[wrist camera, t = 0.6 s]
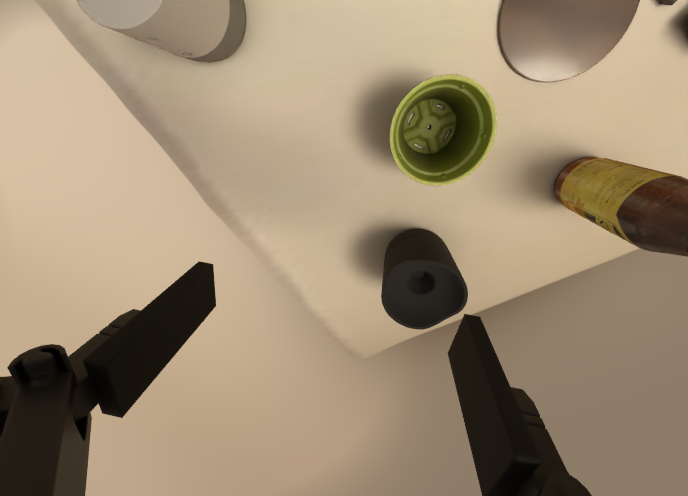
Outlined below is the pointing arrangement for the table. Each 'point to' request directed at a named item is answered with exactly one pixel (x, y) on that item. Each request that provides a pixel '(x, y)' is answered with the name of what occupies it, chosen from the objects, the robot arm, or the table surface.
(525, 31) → the coaster
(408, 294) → the pen holder
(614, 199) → the sauce bottle
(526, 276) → the table surface
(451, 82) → the plant pot
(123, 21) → the smart speaker
